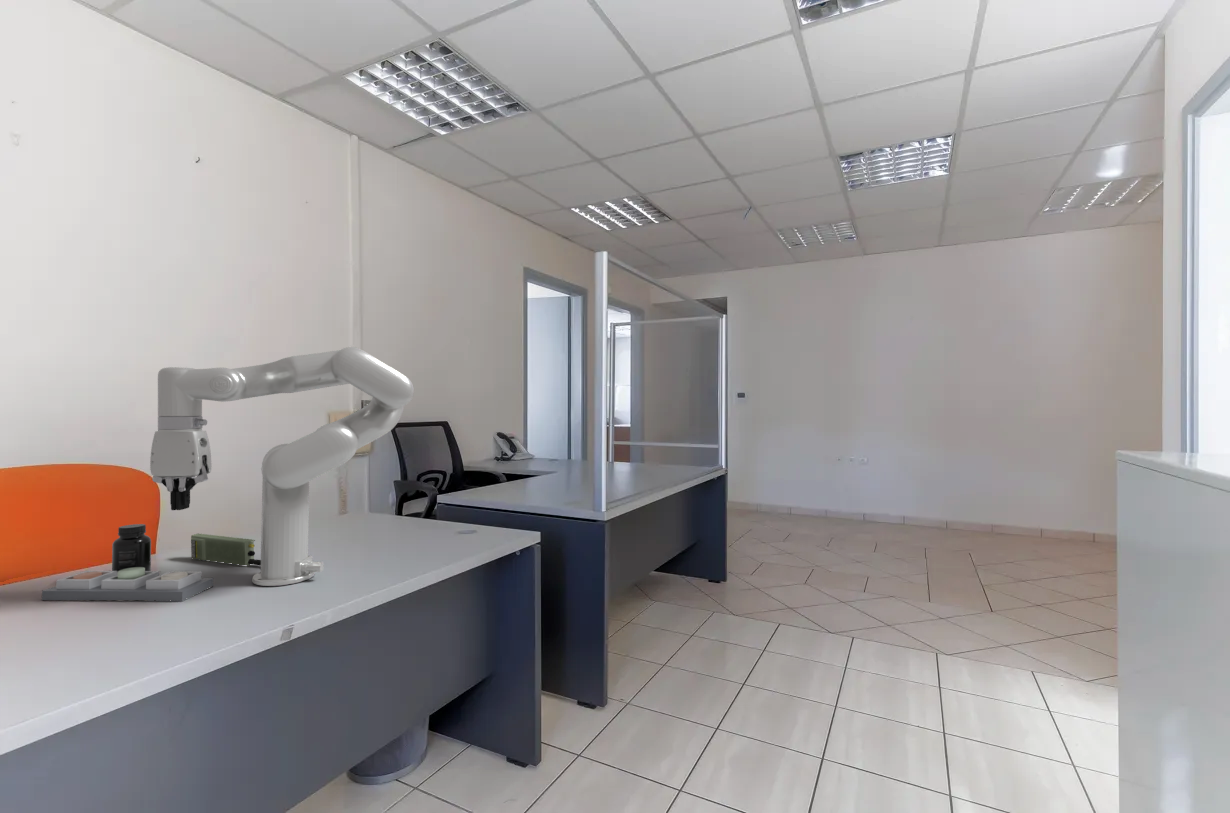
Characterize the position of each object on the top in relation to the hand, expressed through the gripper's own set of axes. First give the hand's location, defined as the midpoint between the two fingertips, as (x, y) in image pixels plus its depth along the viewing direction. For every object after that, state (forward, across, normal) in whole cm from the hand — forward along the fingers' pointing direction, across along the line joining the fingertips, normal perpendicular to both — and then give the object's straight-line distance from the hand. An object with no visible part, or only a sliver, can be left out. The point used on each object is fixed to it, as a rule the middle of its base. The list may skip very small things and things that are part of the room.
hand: (180, 508), depth 118 cm
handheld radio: (+19, +3, -22) cm, 29 cm away
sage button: (+15, +9, +1) cm, 17 cm away
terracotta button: (+15, +18, +1) cm, 24 cm away
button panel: (+18, +9, +1) cm, 20 cm away
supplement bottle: (+18, +18, -10) cm, 27 cm away
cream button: (+16, 0, +2) cm, 16 cm away
